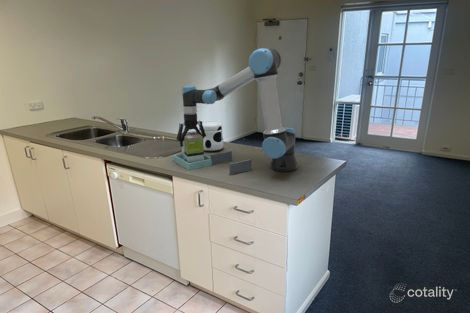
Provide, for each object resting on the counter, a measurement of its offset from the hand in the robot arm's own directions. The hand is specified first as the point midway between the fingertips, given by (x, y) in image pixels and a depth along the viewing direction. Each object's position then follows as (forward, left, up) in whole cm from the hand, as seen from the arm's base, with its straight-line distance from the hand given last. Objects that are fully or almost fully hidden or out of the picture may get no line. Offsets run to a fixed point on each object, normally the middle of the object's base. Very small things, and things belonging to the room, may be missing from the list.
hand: (192, 150), depth 191 cm
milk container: (+18, -23, -8) cm, 30 cm away
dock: (-20, -14, -8) cm, 26 cm away
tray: (0, 0, -8) cm, 8 cm away
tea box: (0, 0, -5) cm, 5 cm away
